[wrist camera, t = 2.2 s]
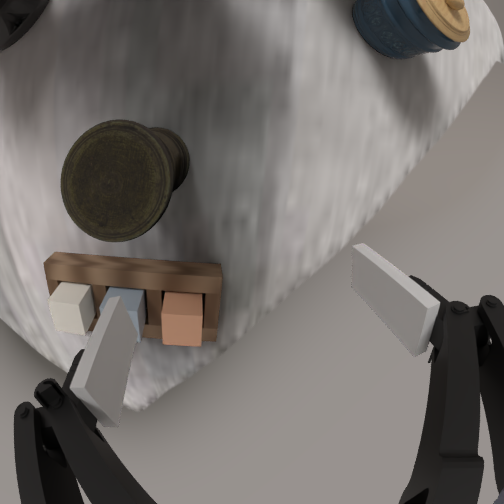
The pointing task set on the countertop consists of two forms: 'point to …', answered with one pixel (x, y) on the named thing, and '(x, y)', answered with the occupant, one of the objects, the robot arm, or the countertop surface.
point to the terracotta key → (182, 318)
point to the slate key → (130, 305)
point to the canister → (411, 25)
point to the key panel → (141, 283)
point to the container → (122, 178)
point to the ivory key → (72, 307)
